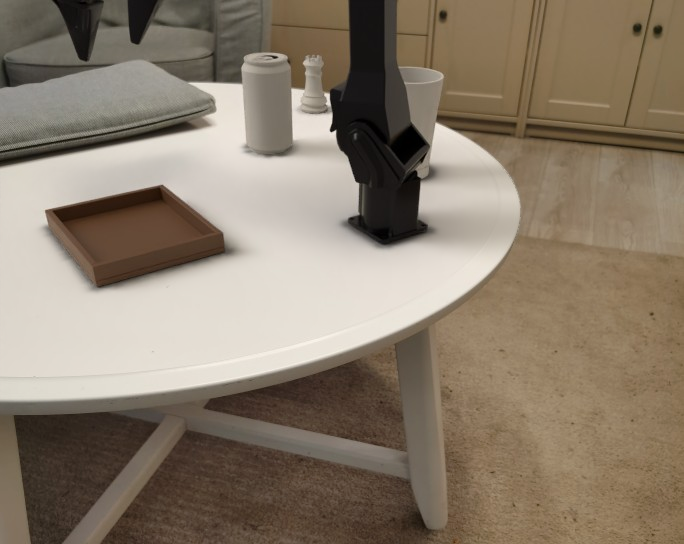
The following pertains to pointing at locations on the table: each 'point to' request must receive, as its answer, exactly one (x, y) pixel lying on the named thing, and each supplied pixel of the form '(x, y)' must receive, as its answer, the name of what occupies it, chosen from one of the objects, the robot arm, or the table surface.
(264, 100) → the beverage can
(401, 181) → the robot arm
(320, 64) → the rook chess piece
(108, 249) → the tray
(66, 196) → the table surface
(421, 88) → the cup
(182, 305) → the table surface
